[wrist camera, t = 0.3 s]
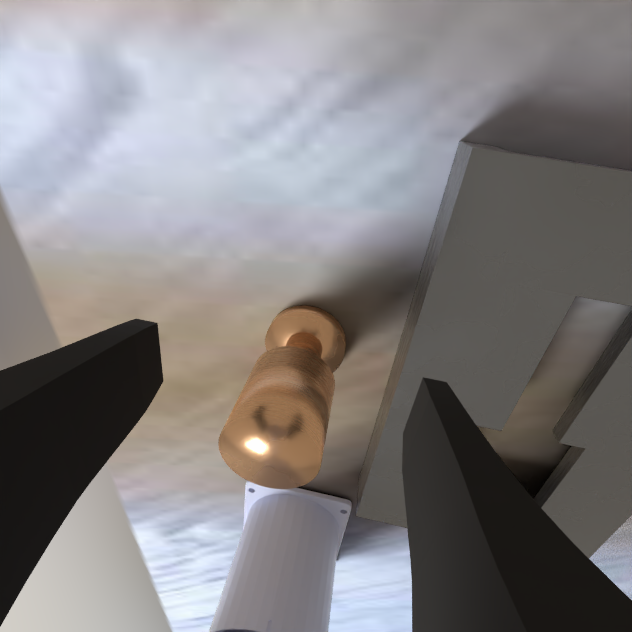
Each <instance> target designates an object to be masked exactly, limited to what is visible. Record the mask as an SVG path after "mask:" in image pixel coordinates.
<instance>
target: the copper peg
mask: <svg viewBox="0 0 632 632" xmlns="http://www.w3.org/2000/svg"><path fill="white" fill-rule="evenodd" d="M265 345H266V350H267V352H265V353H264V354H262V355H261V356H260V357H259V359H258V360H257V362H256V364H255V366H254V368H253V370H252V372H251V374H250V376H249V378H248V380H247V382H246V384H245V386H244V388H243V390H242V392H241V394H240V396H239V398H238V400H237V402H236V404H235V406H234V408H233V410H232V412H231V414H230V416H229V418H228V420H227V422H226V424H225V426H224V428H223V430H222V432H221V434H220V437H219V450H220V453H221V456H222V458H223V459H224V461H225V462H226V464H227V465H228V466H229V467H230V468H231V469H232V470H233V471H234V472H235V473H236V474H238V475H239V476H241V477H242V478H244V479H246V480H248V481H250V482H252V483H254V484H257V485H260V486H263V487H267V488H273V489H292V488H297V487H300V486H303V485H305V484H307V483H309V482H310V481H312V480H313V479H314V478H315V477H316V476H317V474H318V472H319V470H320V467H321V461H322V456H323V450H324V445H325V439H326V433H327V428H328V422H329V416H330V411H331V405H332V400H333V394H334V388H335V380H334V376H333V372H334V371H335V370H336V369H337V368H338V367H339V366H340V364H341V363H342V361H343V358H344V353H345V347H346V337H345V333H344V330H343V328H342V326H341V325H340V323H339V322H338V321H337V320H336V319H335V318H334V317H333V316H332V315H331V314H329V313H328V312H326V311H324V310H322V309H320V308H317V307H313V306H307V305H300V306H293V307H290V308H287V309H285V310H283V311H282V312H280V313H279V314H278V315H277V316H276V317H275V318H274V320H273V322H272V323H271V325H270V327H269V329H268V331H267V334H266V339H265Z"/></svg>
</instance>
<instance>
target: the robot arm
mask: <svg viewBox="0 0 632 632" xmlns="http://www.w3.org/2000/svg"><path fill="white" fill-rule="evenodd" d="M162 383H163V373H162V363H161V354H160V344H159V334H158V324H157V323H154V322H150V321H145V320H140V319H134V320H131V321H128V322H125V323H122V324H120V325H117V326H114V327H112V328H109V329H107V330H104V331H102V332H99V333H97V334H95V335H92V336H90V337H87V338H85V339H82V340H80V341H77V342H75V343H72V344H70V345H67V346H65V347H62V348H60V349H57V350H55V351H52V352H50V353H47V354H44V355H42V356H39V357H36V358H34V359H31V360H28V361H26V362H23V363H20V364H17V365H15V366H12V367H9V368H7V369H4V370H1V371H0V626H1V624H2V623H3V621H4V619H5V617H6V616H7V614H8V612H9V610H10V609H11V607H12V605H13V603H14V602H15V600H16V598H17V596H18V595H19V593H20V591H21V589H22V588H23V586H24V584H25V583H26V581H27V579H28V578H29V576H30V574H31V573H32V571H33V570H34V568H35V566H36V564H37V563H38V561H39V560H40V558H41V556H42V555H43V553H44V552H45V550H46V548H47V547H48V545H49V543H50V542H51V540H52V538H53V537H54V535H55V534H56V532H57V531H58V529H59V528H60V526H61V525H62V523H63V521H64V520H65V518H66V517H67V515H68V514H69V512H70V511H71V509H72V508H73V506H74V504H75V503H76V501H77V500H78V499H79V497H80V496H81V494H82V493H83V492H84V490H85V489H86V487H87V486H88V485H89V483H90V482H91V481H92V479H93V478H94V477H95V476H96V475H97V473H98V472H99V471H100V470H101V468H102V467H103V466H104V464H105V463H106V462H107V461H108V459H109V458H110V457H111V456H112V454H113V453H114V452H115V450H116V449H117V448H118V447H119V445H120V444H121V443H122V442H123V440H124V439H125V438H126V437H127V435H128V434H129V433H130V431H131V430H132V429H133V427H134V426H135V425H136V424H137V422H138V421H139V420H140V418H141V417H142V416H143V414H144V413H145V412H146V410H147V408H148V407H149V405H150V403H151V402H152V400H153V399H154V397H155V395H156V393H157V391H158V390H159V388H160V386H161V384H162ZM402 475H403V486H404V497H405V507H406V517H407V527H408V537H409V548H410V558H411V573H412V632H632V600H631V599H630V598H629V597H627V596H626V595H625V594H624V593H623V592H622V591H621V590H620V589H619V588H618V587H617V586H616V585H615V584H614V583H613V582H612V581H611V580H610V579H609V578H608V577H607V576H606V575H605V574H604V573H603V572H602V571H601V570H600V569H599V568H598V567H597V566H596V565H595V564H594V563H593V562H592V561H591V560H589V558H588V557H587V556H586V555H585V554H584V553H583V552H582V551H581V550H580V549H579V548H578V547H577V546H576V545H575V544H574V543H573V542H572V541H571V540H570V539H569V538H568V537H567V536H566V535H565V533H564V532H563V531H562V530H561V529H560V528H559V527H558V526H557V525H556V524H555V523H554V521H553V520H552V519H551V518H550V517H549V516H548V515H547V514H546V513H545V512H544V511H543V509H542V508H541V507H540V506H539V505H538V504H537V503H536V501H535V500H534V499H533V498H532V497H531V496H530V495H529V493H528V492H527V491H526V490H525V488H524V487H523V486H522V485H521V484H520V482H519V481H518V480H517V479H516V477H515V476H514V475H513V474H512V472H511V471H510V470H509V469H508V467H507V466H506V465H505V464H504V462H503V461H502V460H501V458H500V457H499V456H498V455H497V453H496V452H495V451H494V449H493V448H492V446H491V445H490V444H489V442H488V441H487V440H486V438H485V437H484V435H483V434H482V433H481V431H480V430H479V428H478V427H477V426H476V424H475V423H474V421H473V420H472V418H471V417H470V415H469V414H468V413H467V411H466V410H465V408H464V407H463V405H462V404H461V402H460V401H459V399H458V398H457V396H456V395H455V393H454V392H453V390H452V389H451V387H450V386H449V385H448V383H447V382H444V381H439V380H434V379H429V378H424V377H423V378H422V381H421V384H420V387H419V389H418V392H417V395H416V398H415V401H414V403H413V406H412V409H411V412H410V415H409V417H408V420H407V423H406V426H405V429H404V431H403V448H402ZM351 509H352V503H351V501H349V500H347V499H343V498H339V497H335V496H330V495H326V494H322V493H317V492H313V491H309V490H304V489H300V488H292V489H273V488H267V487H263V486H260V485H257V484H254V483H252V482H250V481H248V480H247V482H246V486H245V508H244V528H243V531H242V534H241V537H240V540H239V543H238V546H237V549H236V552H235V555H234V558H233V561H232V564H231V567H230V570H229V573H228V576H227V579H226V582H225V585H224V588H223V591H222V594H221V597H220V600H219V603H218V606H217V609H216V612H215V615H214V618H213V621H212V624H211V627H210V630H209V632H328V628H329V619H330V610H331V600H332V591H333V582H334V573H335V563H336V559H337V556H338V552H339V549H340V546H341V542H342V539H343V536H344V532H345V529H346V526H347V522H348V519H349V516H350V512H351Z"/></svg>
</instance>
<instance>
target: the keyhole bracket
mask: <svg viewBox="0 0 632 632" xmlns="http://www.w3.org/2000/svg"><path fill="white" fill-rule="evenodd" d="M576 296H579V297H584V298H590V299H595V300H601V301H606V302H612V303H617V304H623V305H628V306H632V171H631V170H625V169H618V168H612V167H606V166H599V165H593V164H586V163H580V162H573V161H567V160H560V159H554V158H547V157H541V156H534V155H528V154H521V153H515V152H510V151H507V150H505V149H502V148H499V147H496V146H489V145H483V144H476V143H470V142H463V141H459V145H458V148H457V151H456V155H455V158H454V161H453V165H452V168H451V172H450V175H449V178H448V182H447V185H446V188H445V192H444V195H443V198H442V202H441V205H440V209H439V212H438V215H437V219H436V222H435V225H434V229H433V232H432V235H431V239H430V242H429V245H428V249H427V252H426V256H425V259H424V262H423V266H422V269H421V272H420V276H419V279H418V282H417V286H416V289H415V292H414V296H413V299H412V303H411V306H410V309H409V313H408V316H407V319H406V323H405V326H404V329H403V333H402V336H401V339H400V343H399V346H398V350H397V353H396V356H395V360H394V363H393V366H392V370H391V373H390V376H389V380H388V383H387V387H386V390H385V393H384V397H383V400H382V403H381V407H380V410H379V413H378V417H377V420H376V423H375V427H374V430H373V434H372V437H371V440H370V444H369V447H368V450H367V454H366V457H365V460H364V464H363V467H362V470H361V474H360V477H359V481H358V493H357V508H356V516H358V517H362V518H366V519H371V520H375V521H379V522H384V523H388V524H392V525H397V526H401V527H405V528H408V527H407V517H406V507H405V497H404V486H403V475H402V448H403V431H404V429H405V426H406V423H407V420H408V417H409V415H410V412H411V409H412V406H413V403H414V401H415V398H416V395H417V392H418V389H419V387H420V384H421V381H422V378H423V377H424V378H429V379H434V380H439V381H444V382H447V383H448V385H449V386H450V387H451V389H452V390H453V392H454V393H455V395H456V396H457V398H458V399H459V401H460V402H461V404H462V405H463V407H464V408H465V410H466V411H467V413H468V414H469V415H470V417H471V418H472V420H473V421H474V423H475V424H476V426H481V427H485V428H490V429H495V430H500V431H502V429H503V427H504V425H505V423H506V422H507V420H508V418H509V416H510V414H511V413H512V411H513V409H514V407H515V405H516V404H517V402H518V400H519V398H520V396H521V395H522V393H523V391H524V389H525V387H526V386H527V384H528V382H529V380H530V378H531V377H532V375H533V373H534V371H535V369H536V368H537V366H538V364H539V362H540V360H541V359H542V357H543V355H544V353H545V351H546V349H547V348H548V346H549V344H550V342H551V340H552V339H553V337H554V335H555V333H556V331H557V330H558V328H559V326H560V324H561V322H562V321H563V319H564V317H565V315H566V313H567V312H568V310H569V308H570V306H571V304H572V303H573V301H574V299H575V297H576ZM553 433H554V434H555V436H556V438H557V440H558V442H559V443H562V444H566V445H571V447H570V449H569V450H568V452H567V453H566V454H565V456H564V457H563V459H562V460H561V461H560V463H559V464H558V466H557V467H556V468H555V470H554V471H553V473H552V474H551V475H550V477H549V478H548V480H547V481H546V482H545V484H544V485H543V487H542V488H541V489H540V491H539V492H538V493H537V495H536V496H535V498H534V500H535V501H536V503H537V504H538V505H539V506H540V507H541V508H542V509H543V511H544V512H545V513H546V514H547V515H548V516H549V517H550V518H551V519H552V520H553V521H554V523H555V524H556V525H557V526H558V527H559V528H560V529H561V530H562V531H563V532H564V533H565V535H566V536H567V537H568V538H569V539H570V540H571V541H572V542H573V543H574V544H575V545H576V546H577V547H578V548H579V549H580V550H581V551H582V552H583V553H584V554H585V555H586V556H587V557H588V558H590V557H591V556H592V555H593V554H594V553H595V552H596V551H597V550H598V549H599V548H600V546H601V545H602V544H603V543H604V542H605V541H606V540H607V539H608V538H609V537H610V536H611V535H612V534H613V533H614V532H615V531H616V530H617V529H618V528H619V527H620V526H621V525H622V524H623V523H624V522H625V521H626V520H627V519H628V518H629V517H630V516H631V515H632V311H631V312H630V314H629V315H628V317H627V318H626V320H625V321H624V323H623V324H622V326H621V327H620V329H619V330H618V332H617V333H616V335H615V336H614V338H613V339H612V341H611V342H610V344H609V346H608V347H607V349H606V350H605V352H604V353H603V355H602V356H601V358H600V359H599V361H598V362H597V364H596V365H595V367H594V368H593V370H592V371H591V373H590V374H589V376H588V377H587V379H586V381H585V382H584V384H583V385H582V387H581V388H580V390H579V391H578V393H577V394H576V396H575V397H574V399H573V400H572V402H571V403H570V405H569V406H568V408H567V409H566V411H565V413H564V414H563V416H562V417H561V419H560V420H559V422H558V423H557V425H556V426H555V428H554V429H553Z"/></svg>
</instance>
